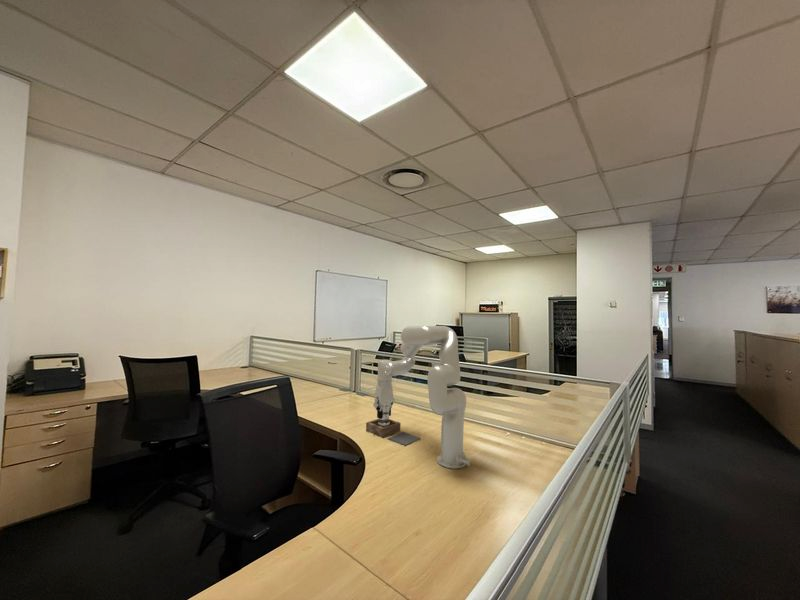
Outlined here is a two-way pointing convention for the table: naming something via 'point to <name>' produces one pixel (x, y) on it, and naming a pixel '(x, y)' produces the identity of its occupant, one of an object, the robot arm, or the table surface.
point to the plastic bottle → (385, 415)
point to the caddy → (380, 431)
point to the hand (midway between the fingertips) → (384, 416)
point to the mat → (404, 438)
